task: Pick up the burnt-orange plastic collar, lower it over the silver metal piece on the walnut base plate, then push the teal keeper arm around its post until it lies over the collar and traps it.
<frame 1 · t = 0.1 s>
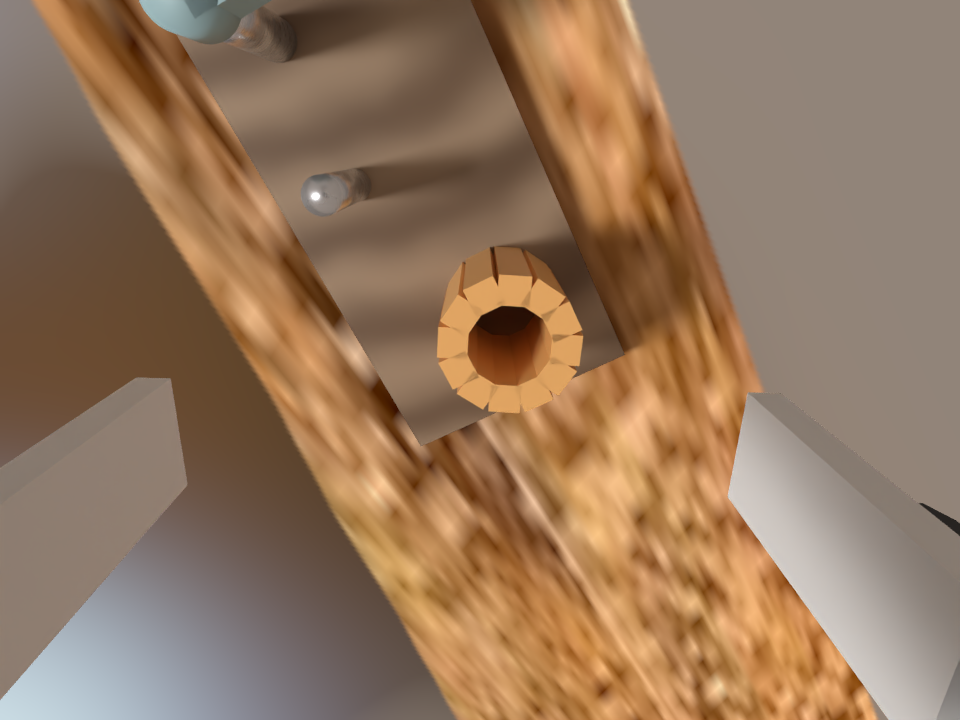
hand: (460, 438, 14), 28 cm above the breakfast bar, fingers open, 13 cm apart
collar: (502, 303, 40), point 1 cm above the breakfast bar, touching plate
silver metal piece: (293, 109, 31), on the plate, point 6 cm above the breakfast bar
plate: (422, 205, 39), on the breakfast bar
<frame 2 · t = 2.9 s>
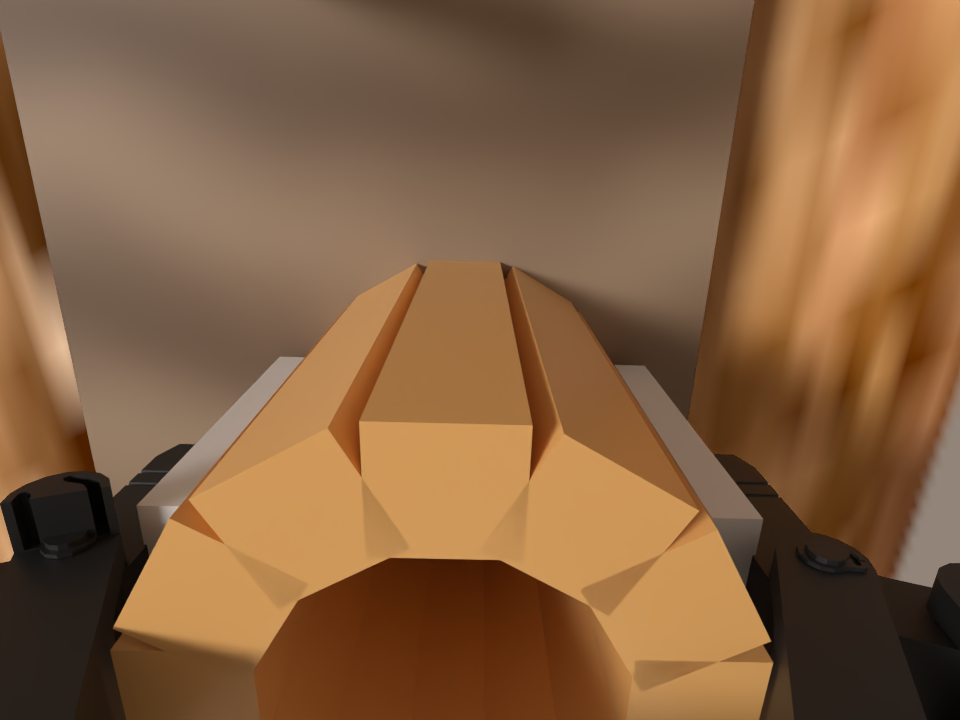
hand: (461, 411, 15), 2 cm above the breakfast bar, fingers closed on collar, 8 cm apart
collar: (462, 405, 16), point 2 cm above the breakfast bar, touching gripper, plate
plate: (386, 75, 14), on the breakfast bar
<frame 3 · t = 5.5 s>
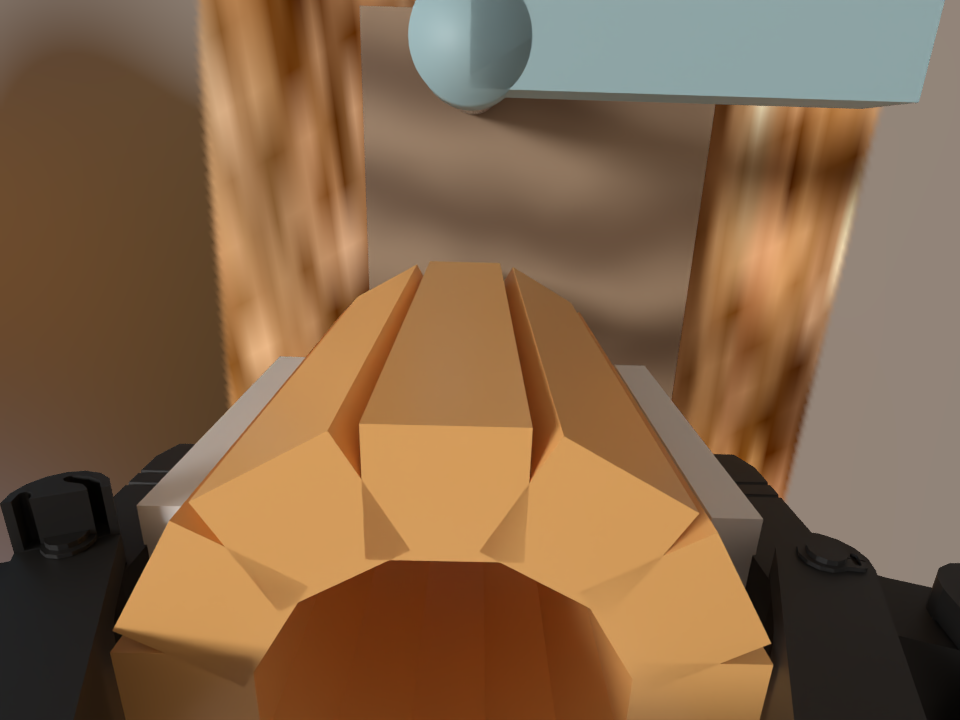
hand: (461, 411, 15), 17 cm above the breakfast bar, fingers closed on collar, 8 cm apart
collar: (462, 406, 16), point 16 cm above the breakfast bar, touching gripper
plate: (523, 333, 32), on the breakfast bar
keeper: (657, 51, 16), point 12 cm above the breakfast bar, hinge at 0.0°
when the fingers open (4 cm above the breakfast bar, at t = 8.2 s): collar drops 2 cm, resting on plate.
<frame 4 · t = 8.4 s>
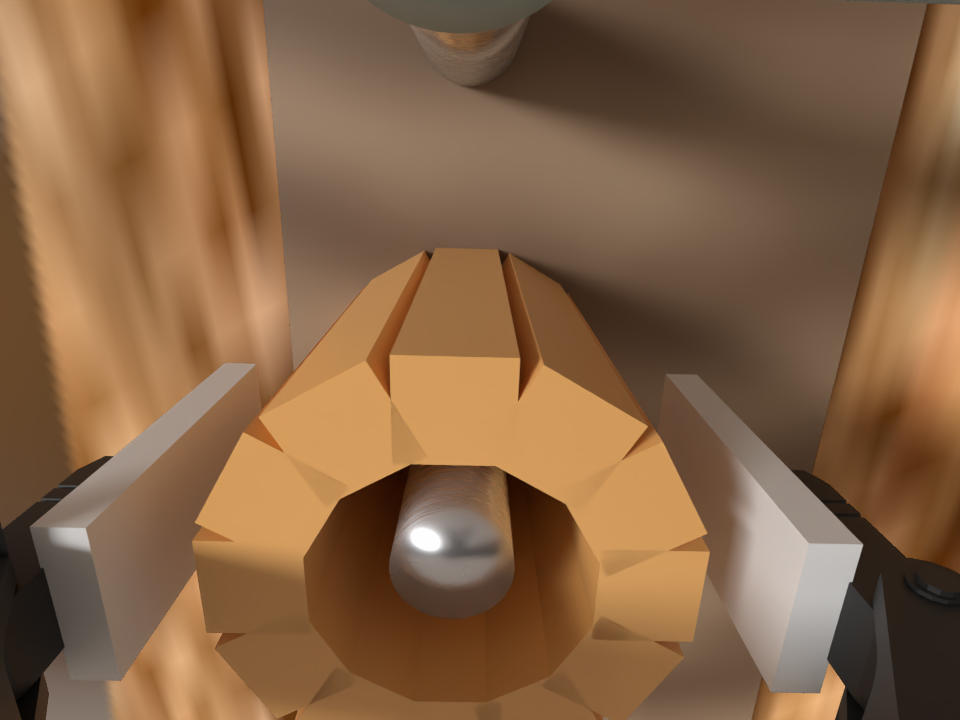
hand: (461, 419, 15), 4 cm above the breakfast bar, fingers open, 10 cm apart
collar: (464, 377, 17), point 1 cm above the breakfast bar, touching plate
silver metal piece: (462, 241, 12), on the plate, point 6 cm above the breakfast bar
plate: (552, 445, 20), on the breakfast bar
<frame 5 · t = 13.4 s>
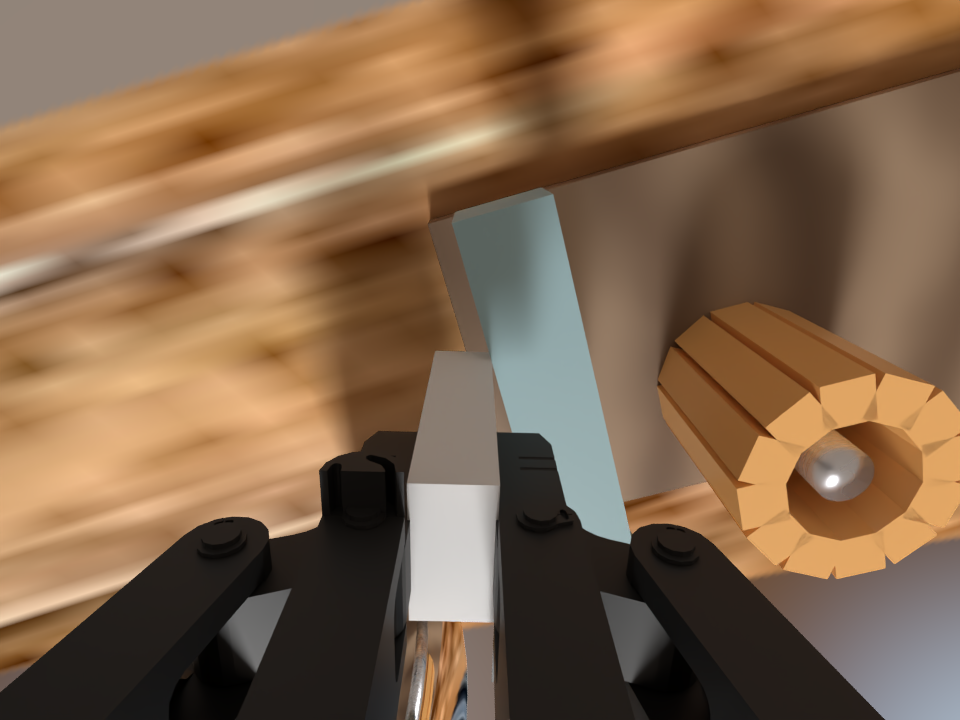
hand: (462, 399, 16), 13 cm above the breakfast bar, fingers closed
collar: (739, 381, 28), point 1 cm above the breakfast bar, touching plate
silver metal piece: (673, 452, 24), on the plate, point 6 cm above the breakfast bar
beer glass: (406, 518, 32), on the breakfast bar
plate: (779, 298, 28), on the breakfast bar
keeper: (560, 439, 17), point 12 cm above the breakfast bar, hinge at 0.0°, touching gripper
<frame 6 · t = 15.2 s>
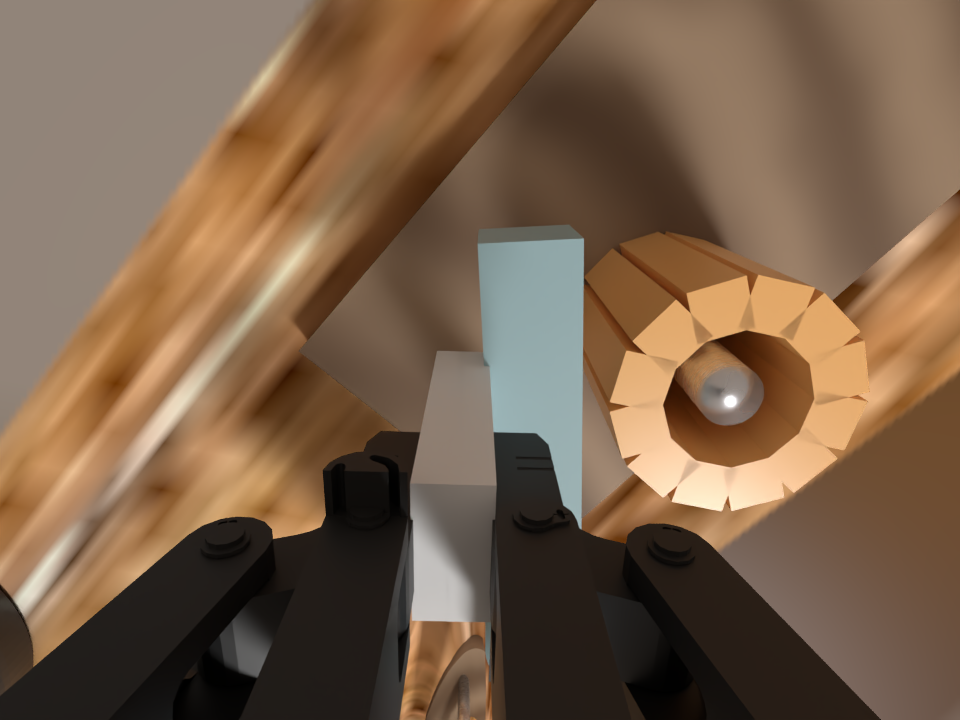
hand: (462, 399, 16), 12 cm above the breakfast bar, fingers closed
collar: (657, 319, 26), point 1 cm above the breakfast bar, touching plate
silver metal piece: (601, 436, 23), on the plate, point 6 cm above the breakfast bar
beer glass: (458, 583, 34), on the breakfast bar
plate: (652, 219, 26), on the breakfast bar
keeper: (532, 474, 17), point 12 cm above the breakfast bar, hinge at 44.9°, touching gripper
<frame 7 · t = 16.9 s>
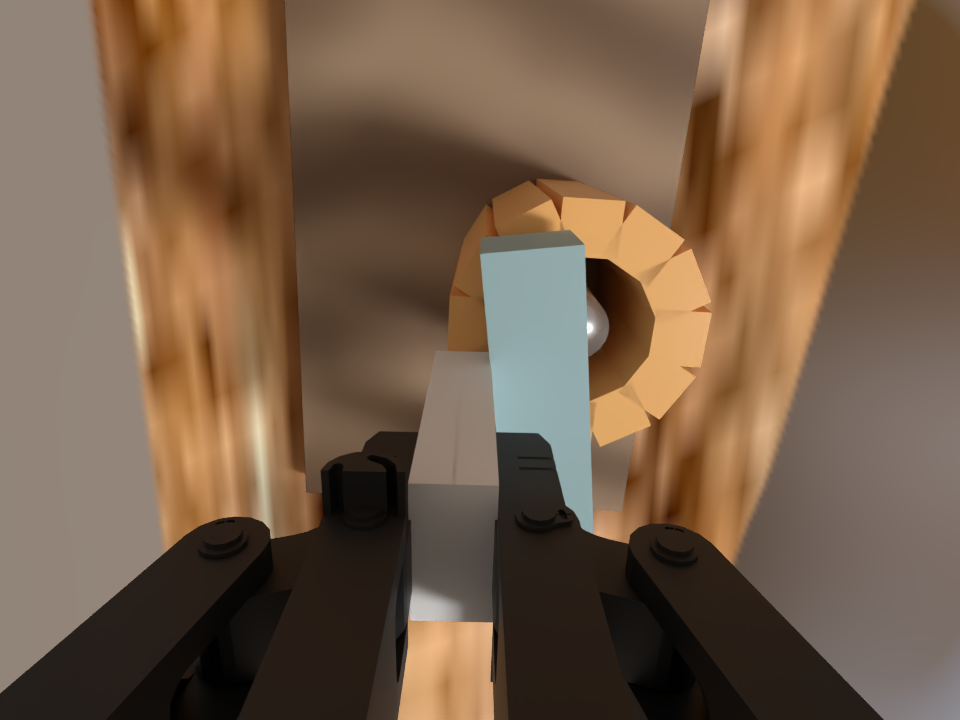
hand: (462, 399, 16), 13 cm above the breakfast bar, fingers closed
collar: (547, 270, 26), point 1 cm above the breakfast bar, touching plate
silver metal piece: (547, 411, 23), on the plate, point 6 cm above the breakfast bar
plate: (484, 193, 26), on the breakfast bar
keeper: (543, 477, 17), point 12 cm above the breakfast bar, hinge at 81.2°, touching gripper
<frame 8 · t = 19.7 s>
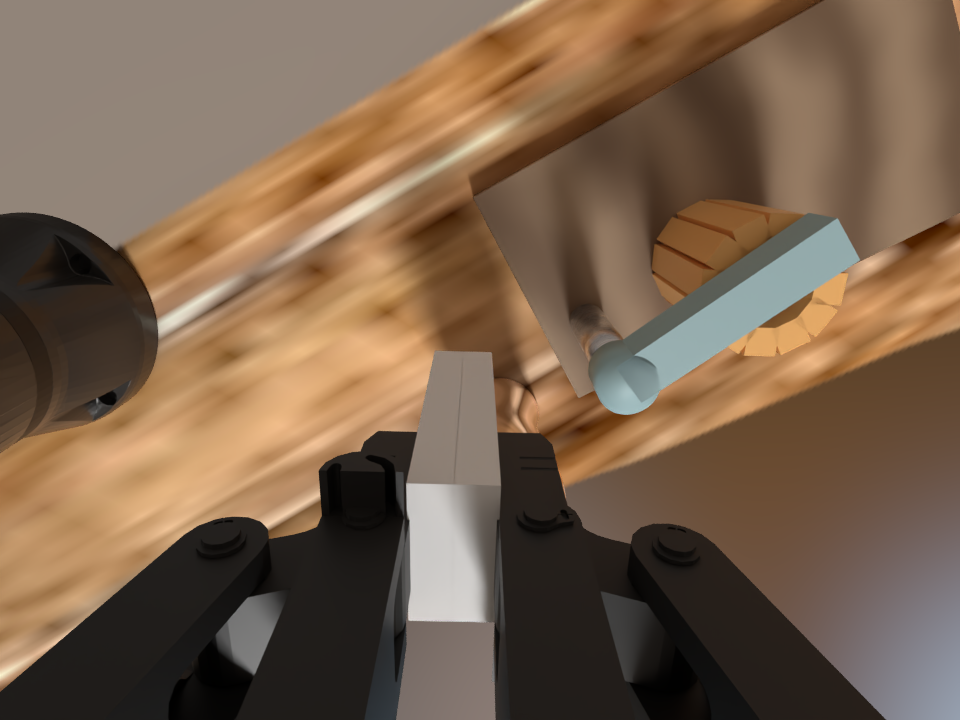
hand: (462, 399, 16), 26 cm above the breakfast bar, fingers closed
collar: (709, 258, 39), point 1 cm above the breakfast bar, touching plate
silver metal piece: (665, 307, 36), on the plate, point 6 cm above the breakfast bar
beer glass: (498, 413, 45), on the breakfast bar
plate: (726, 194, 40), on the breakfast bar
keeper: (710, 318, 30), point 12 cm above the breakfast bar, hinge at 81.2°
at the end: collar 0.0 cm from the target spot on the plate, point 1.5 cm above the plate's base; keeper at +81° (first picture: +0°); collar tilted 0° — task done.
